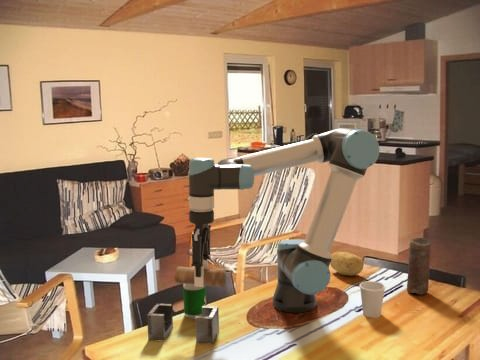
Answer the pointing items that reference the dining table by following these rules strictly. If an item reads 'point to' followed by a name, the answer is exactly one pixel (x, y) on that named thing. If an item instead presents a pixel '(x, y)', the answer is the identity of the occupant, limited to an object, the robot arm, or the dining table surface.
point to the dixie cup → (372, 298)
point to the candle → (418, 266)
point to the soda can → (193, 300)
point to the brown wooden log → (210, 276)
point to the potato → (346, 263)
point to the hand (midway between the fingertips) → (201, 282)
